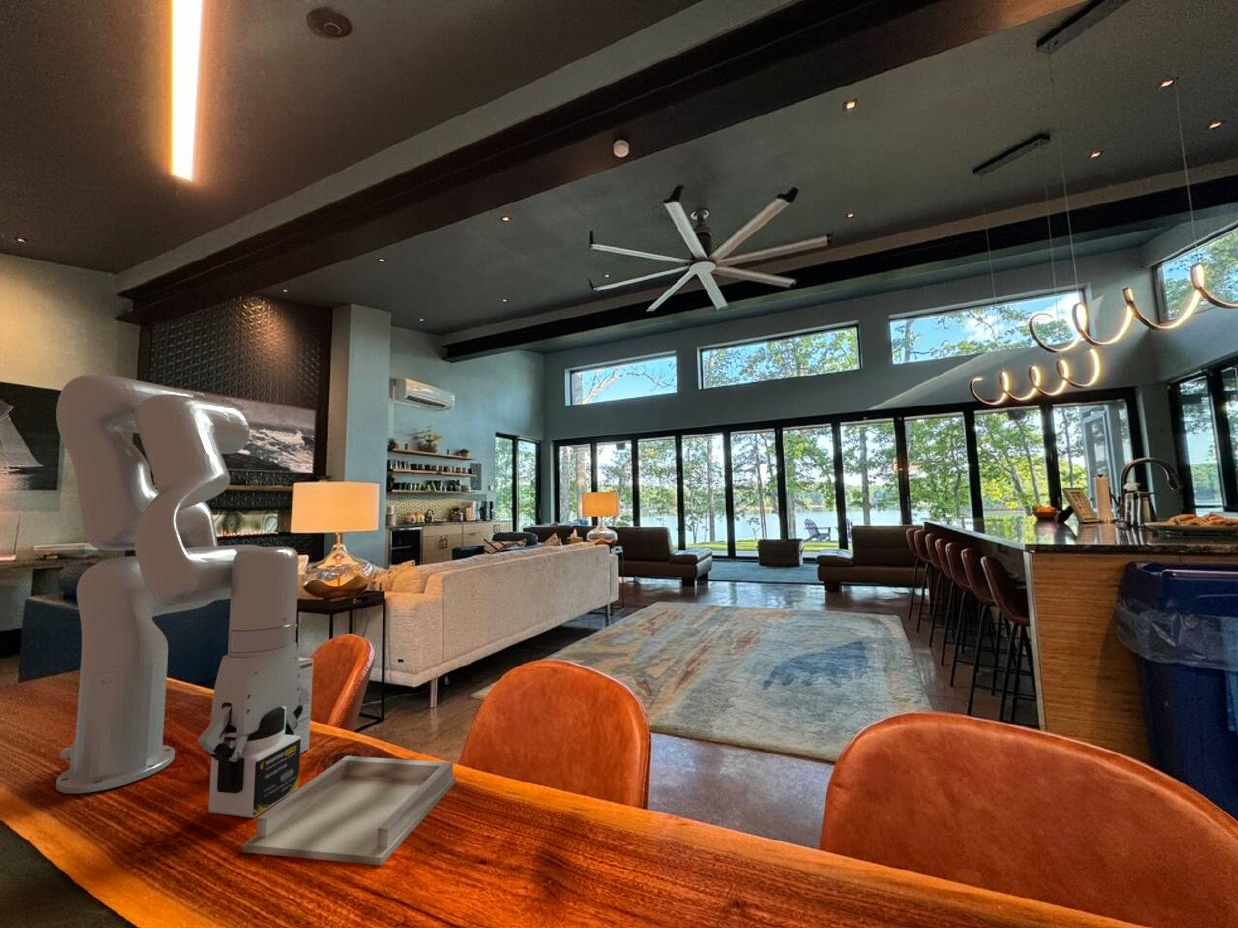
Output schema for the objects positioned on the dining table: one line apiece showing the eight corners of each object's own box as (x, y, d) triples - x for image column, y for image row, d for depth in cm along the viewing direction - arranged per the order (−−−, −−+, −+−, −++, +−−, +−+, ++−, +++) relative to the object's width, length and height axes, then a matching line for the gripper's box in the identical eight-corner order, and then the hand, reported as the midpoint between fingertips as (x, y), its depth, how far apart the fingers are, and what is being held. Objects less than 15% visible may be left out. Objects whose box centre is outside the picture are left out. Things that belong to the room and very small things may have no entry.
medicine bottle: (253, 819, 64) (258, 718, 65) (206, 813, 65) (212, 715, 66) (300, 788, 71) (303, 698, 72) (256, 783, 72) (260, 695, 73)
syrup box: (249, 760, 79) (254, 663, 81) (287, 743, 85) (290, 653, 86) (274, 766, 77) (279, 667, 79) (311, 749, 83) (314, 656, 84)
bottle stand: (242, 851, 58) (243, 825, 58) (345, 774, 74) (345, 754, 75) (381, 865, 55) (382, 837, 55) (455, 782, 72) (455, 761, 72)
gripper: (288, 624, 79) (283, 744, 78) (175, 655, 62) (166, 810, 60) (332, 625, 78) (328, 747, 76) (229, 657, 61) (221, 815, 59)
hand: (256, 774), depth 68 cm, fingers closed on medicine bottle, 7 cm apart
